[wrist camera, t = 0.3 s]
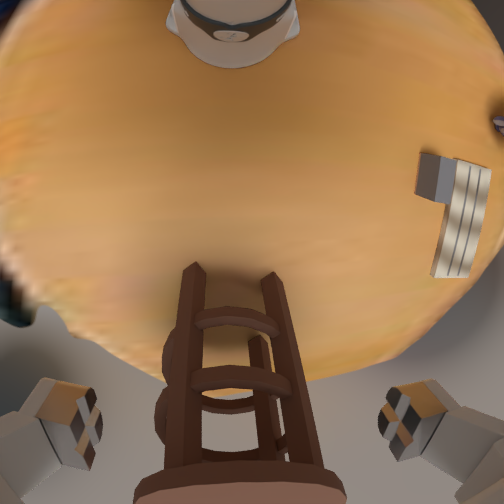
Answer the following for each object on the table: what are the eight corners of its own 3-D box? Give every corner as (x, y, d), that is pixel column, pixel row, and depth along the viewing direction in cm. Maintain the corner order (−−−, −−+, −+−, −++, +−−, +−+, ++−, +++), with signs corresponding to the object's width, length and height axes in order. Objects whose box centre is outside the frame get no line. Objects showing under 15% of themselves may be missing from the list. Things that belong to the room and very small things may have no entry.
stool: (74, 496, 16) (282, 436, 13) (144, 298, 48) (241, 228, 46) (223, 552, 22) (387, 502, 20) (218, 371, 55) (308, 317, 52)
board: (452, 158, 44) (458, 159, 43) (486, 168, 45) (491, 170, 44) (429, 274, 52) (434, 278, 50) (463, 274, 53) (468, 277, 51)
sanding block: (419, 152, 44) (440, 156, 38) (434, 156, 44) (456, 160, 38) (413, 193, 46) (434, 201, 40) (429, 196, 46) (450, 204, 41)
